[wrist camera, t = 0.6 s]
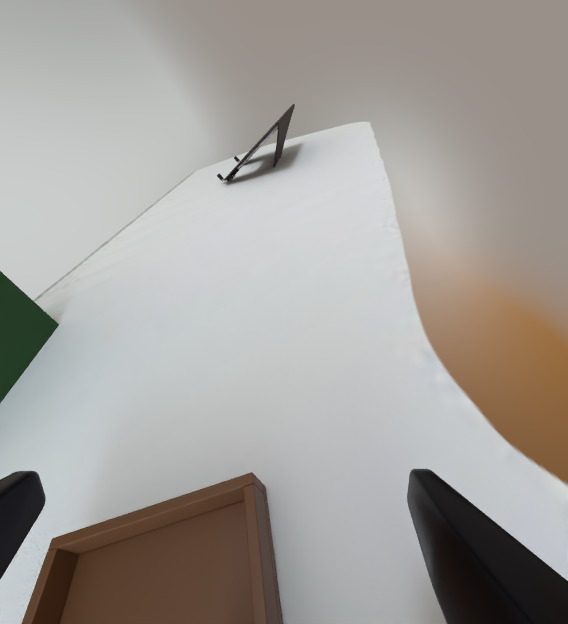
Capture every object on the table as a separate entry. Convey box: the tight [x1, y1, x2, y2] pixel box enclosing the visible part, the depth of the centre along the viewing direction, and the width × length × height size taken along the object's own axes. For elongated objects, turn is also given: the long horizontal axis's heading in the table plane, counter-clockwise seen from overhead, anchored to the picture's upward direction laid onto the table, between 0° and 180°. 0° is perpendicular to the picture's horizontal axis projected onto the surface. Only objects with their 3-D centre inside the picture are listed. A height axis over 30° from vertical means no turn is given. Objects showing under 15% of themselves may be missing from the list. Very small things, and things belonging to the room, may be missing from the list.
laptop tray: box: [217, 104, 295, 183], centre depth 83 cm, size 23×23×9 cm
